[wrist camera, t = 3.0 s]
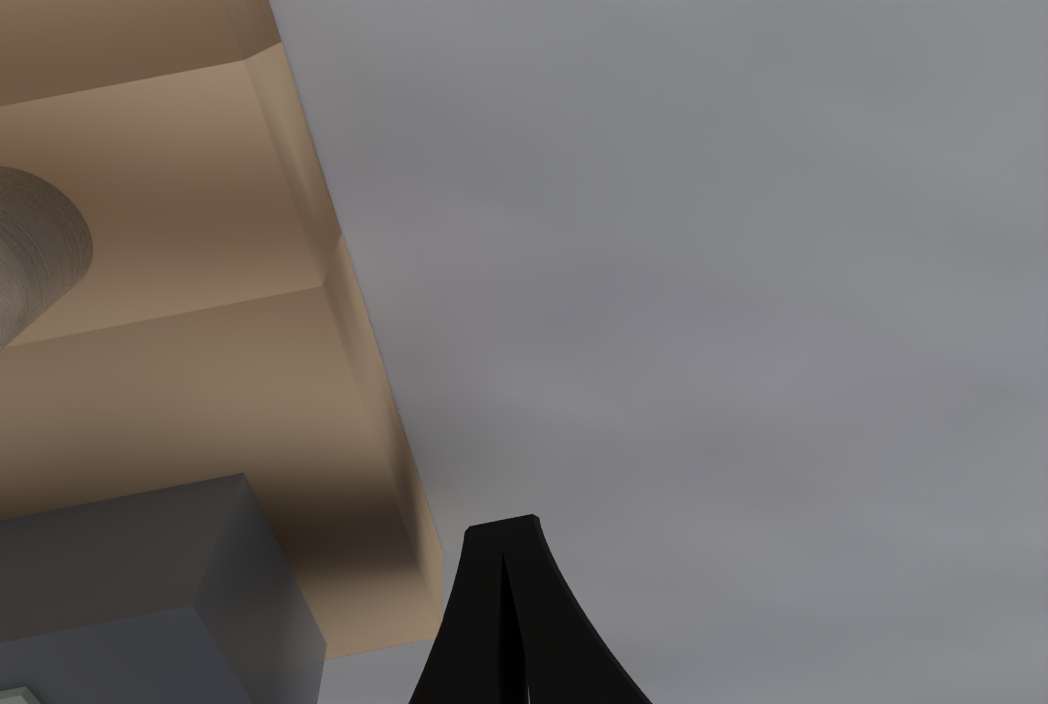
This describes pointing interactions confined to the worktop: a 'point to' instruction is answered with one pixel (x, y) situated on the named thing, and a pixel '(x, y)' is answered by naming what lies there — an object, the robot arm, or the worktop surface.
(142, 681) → the block
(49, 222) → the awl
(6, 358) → the board
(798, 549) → the worktop surface
